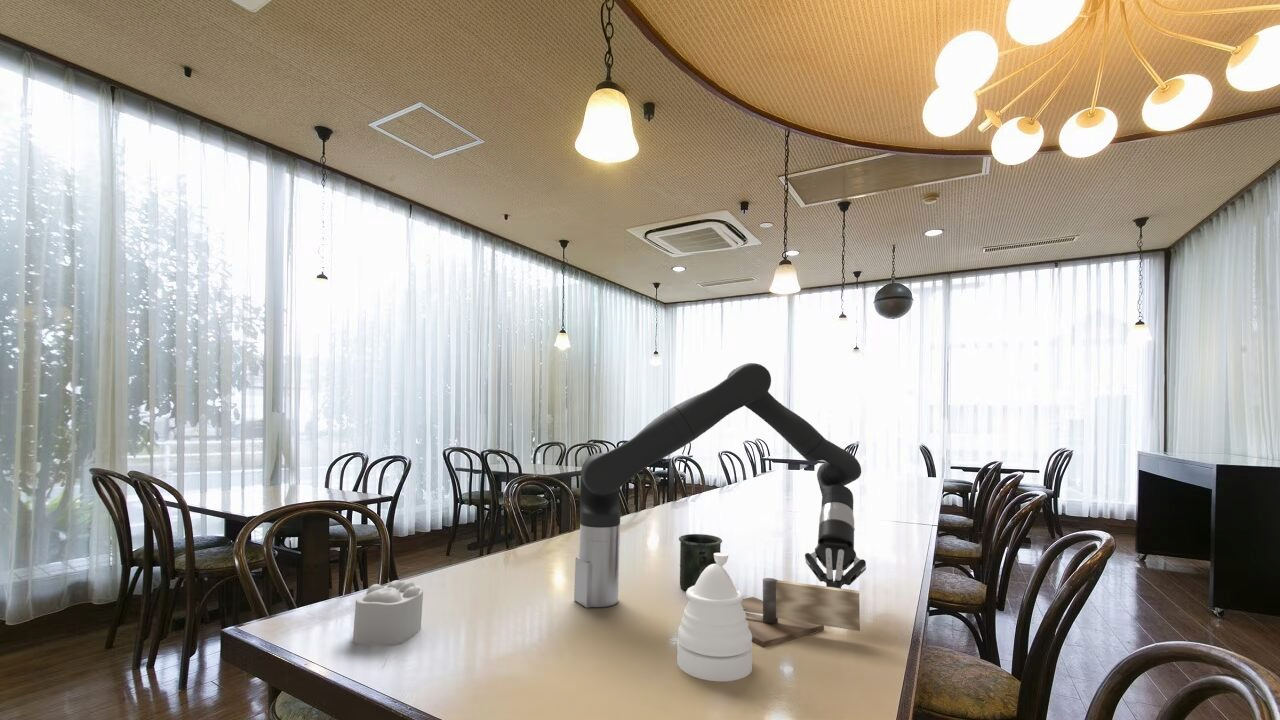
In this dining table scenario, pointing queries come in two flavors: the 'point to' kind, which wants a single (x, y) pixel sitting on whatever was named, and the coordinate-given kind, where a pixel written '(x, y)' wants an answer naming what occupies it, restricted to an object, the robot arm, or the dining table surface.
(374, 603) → the lumpy-topped squat cylinder
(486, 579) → the dining table surface
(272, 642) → the dining table surface
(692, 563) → the mug
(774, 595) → the plank on dark post
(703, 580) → the honey pot
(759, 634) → the wooden sign stand
